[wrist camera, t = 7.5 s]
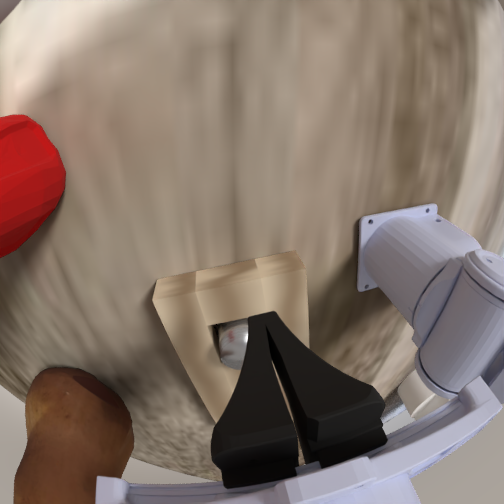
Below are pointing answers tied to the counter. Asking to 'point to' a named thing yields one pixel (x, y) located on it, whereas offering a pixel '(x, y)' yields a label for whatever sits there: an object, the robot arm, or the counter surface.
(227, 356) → the steel plunger
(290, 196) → the counter surface
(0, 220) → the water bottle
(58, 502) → the butternut squash
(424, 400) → the base with upright slab
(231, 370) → the socket block
